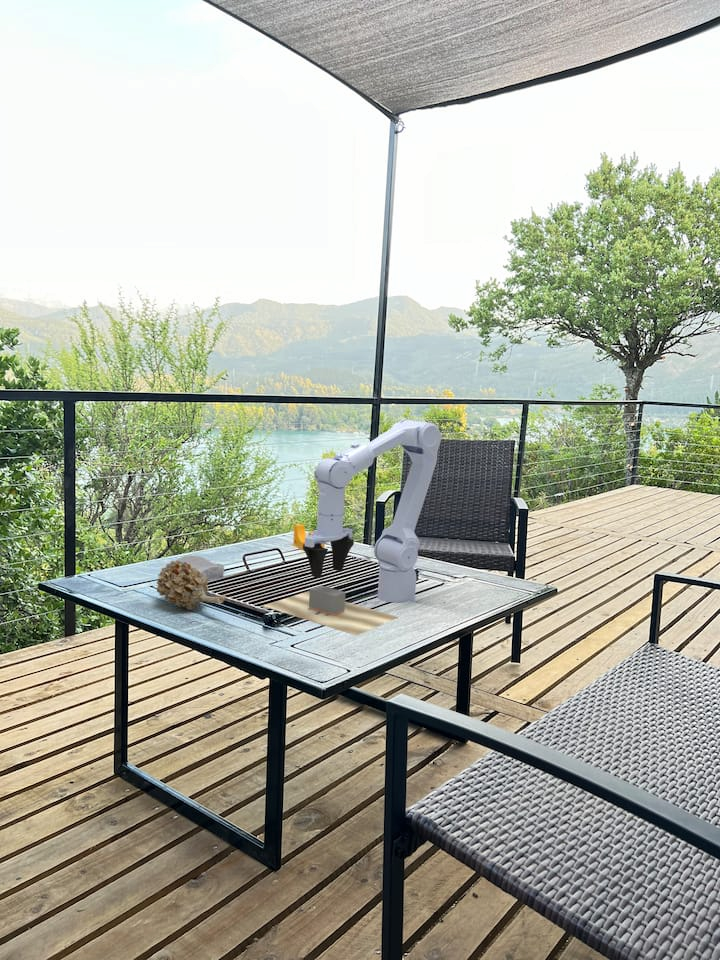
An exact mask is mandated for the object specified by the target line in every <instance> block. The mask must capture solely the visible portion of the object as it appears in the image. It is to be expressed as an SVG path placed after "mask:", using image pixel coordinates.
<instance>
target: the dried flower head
mask: <svg viewBox="0 0 720 960" xmlns="http://www.w3.org/2000/svg"><path fill="white" fill-rule="evenodd" d="M160 570H161V571H160V572H159V574H157V577H158V579H157V581H156V584H157V587H156V592H157V593H158V594H159V596H162V597H163V596H164V598H163V599H164V601H166V602H167V603H168V604H172V603H173V604H174V606H175V607H177V606H178V608H182V607H184V606H185V608H186V609H187V611H188V610H192V611H193V609H194V608H195V607H196V606H198V607H199V606H200V605H201V603H203V602H206V603H207V602H208V603H210V604H211V603H212V604H213V603H214V604H224V602H225V600H226V595H225V594H222V595H221V596H210V595H207V594H208V592H209V587H208V582H209V580H206V578H205V577H202V576H201V573H200V571H197V569H196V568H194V569H192V568H191V565H190V563H189V564H187V563H186V562H184V563H183V564H182V565H181V564H180V563H179V561H176V560H175V561H174V560H171V561H170V563H167V564H165V567H162V568H161V569H160Z"/></svg>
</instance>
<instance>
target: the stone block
mask: <svg viewBox="0 0 720 960" xmlns="http://www.w3.org/2000/svg"><path fill="white" fill-rule="evenodd" d="M176 561H179V563H180V564H181V565H182V564H183V563H184V562H186V563H187V564H189V563H190V565H191V568H192V569H194V568H196V569H197V571H200V573H201V576H202V577H205V578H206V580H208V581H209V580H213V579H214V580H215V579H221V578H222V576H224V574H225V566H224V565H223V564H221V563H214V562H212V561H210V560H209V559H207V558H205V557H203V556H197V555H185V556H181V557H178V558H177V559H176V560H175V562H176Z"/></svg>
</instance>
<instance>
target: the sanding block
mask: <svg viewBox="0 0 720 960" xmlns="http://www.w3.org/2000/svg"><path fill="white" fill-rule="evenodd" d="M309 591H310V595H309V609H313V610H316V611H319V612H322V613H326V614H329V615H332V616H334V615H337V614H340V613H342V612H344V610H345V602H346V591H342V590H339V589H336V588H331V587H327V586H324V585H318V586H315V587H312V588H309Z"/></svg>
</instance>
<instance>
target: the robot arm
mask: <svg viewBox="0 0 720 960" xmlns="http://www.w3.org/2000/svg"><path fill="white" fill-rule="evenodd" d="M442 439H443V437H442V434H441V431H440V429H439V427H438V426H437V425H436V424H435V423H434V422H424V421H419V420H412V419H408V418H404V419H401V420H400V421H399V422H395V423H393V424H392V427H391V428H389V429H388V430H387V431H385V432H383V433H382V434H381V435H378V436H377V437H376V438H374V439H373V440H371V441H370V442H367V444H365V443H361V442H353V443H352V444H350V448H348V449H346V450H344V451H342V452H337V453H336V454H334V457H332V458H324V459H322V460H321V461H319V462H318V464H317V466H316V468H315V470H313V475H314V478H315V481H316V482H317V489H318V497H317V498H318V500H317V501H318V502H317V517H316V520H317V521H316V529H314V530H313V531H312V532H313V534H312V535H310V536H306V537H305V544H303V549H304V551H303V552H304V553H305V555H306V556H307V559H308V563H309V567H310V572H311V577H314V578H318V579H320V578H322V575H323V568H324V562H325V557H326V556H327V553H328V550H329V548H325V547H324V548H322V546H321V544H323V543H325V544H327V543H330V545H331V552H332V553H331V554H332V569H333V570H334V571H336V572H337V571H338V572H342V571H343V569H344V565H345V563H346V560H347V557H348V555H349V552H350V551H351V549H352V547H353V546H354V544H355V540H354V539H351V538H353V529H352V528H347V527H344V514H345V513H344V511H345V498H346V497H345V494H346V487H347V486H348V485H349V484H350V482H351V480H352V478H353V477H354V476H356V475H358V474H359V473H361V472H362V471H365V470H366V469H367V468H369V467H371V466H373V463H374V459H375V458H377V457H379V456H380V455H382V454H385V453H386V452H388V451H391V450H392V449H395V448H398V446H400V447H401V448H402V449H403V450H404V451H405V452H406V454H407V455H408V456H409V458H410V461H411V465H410V468H409V472H408V474H407V478H406V481H405V483H404V487H403V490H402V493H401V496H400V499H399V503H398V505H397V508H396V511H395V513H394V514H395V515H394V517H393V521H392V524H391V525H389V526H387V527H386V528H384V529H383V530H382V532H381V536H380V537H379V538H378V539H377V540H376V542H375V545H374V548H373V555H374V557H375V559H376V560H377V561H378V562H377V565H378V566H379V572H378V587H377V598H378V600H381V601H384V602H387V603H388V602H389V603H403V602H407V601H410V602H413V603H418V602H419V600H418V599H416V588H417V573H416V570H415V569H414V566H415V565H416V564H417V560H418V557H419V554H418V553H419V551H418V550H419V546H420V540H419V538H418V535H416V532H415V530H416V527H417V523H418V522H419V521H418V520H419V517H420V515H421V511H422V508H423V505H424V502H425V499H426V496H427V493H428V489H429V487H430V483H431V481H432V478H433V474H434V472H435V468H436V465H437V462H438V451H439V447H440V445H441V443H442ZM343 527H344V528H343ZM399 539H400V540H399Z"/></svg>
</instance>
